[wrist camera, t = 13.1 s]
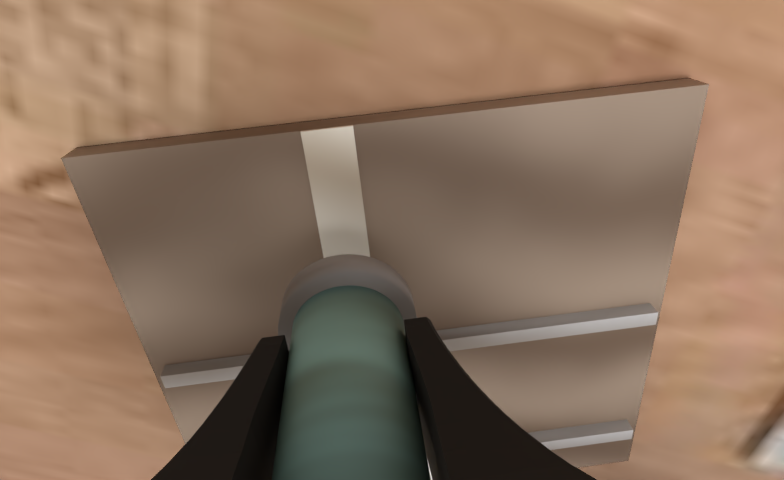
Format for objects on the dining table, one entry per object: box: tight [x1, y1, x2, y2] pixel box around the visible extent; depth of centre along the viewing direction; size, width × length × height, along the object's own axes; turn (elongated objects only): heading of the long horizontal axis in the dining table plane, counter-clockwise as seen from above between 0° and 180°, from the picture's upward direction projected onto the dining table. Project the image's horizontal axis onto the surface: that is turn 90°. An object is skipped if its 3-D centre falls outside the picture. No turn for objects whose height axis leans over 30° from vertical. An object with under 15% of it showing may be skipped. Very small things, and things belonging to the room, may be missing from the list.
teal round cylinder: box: [272, 254, 431, 480], centre depth 12 cm, size 4×4×7 cm
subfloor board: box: [61, 78, 709, 468], centre depth 20 cm, size 18×20×2 cm
